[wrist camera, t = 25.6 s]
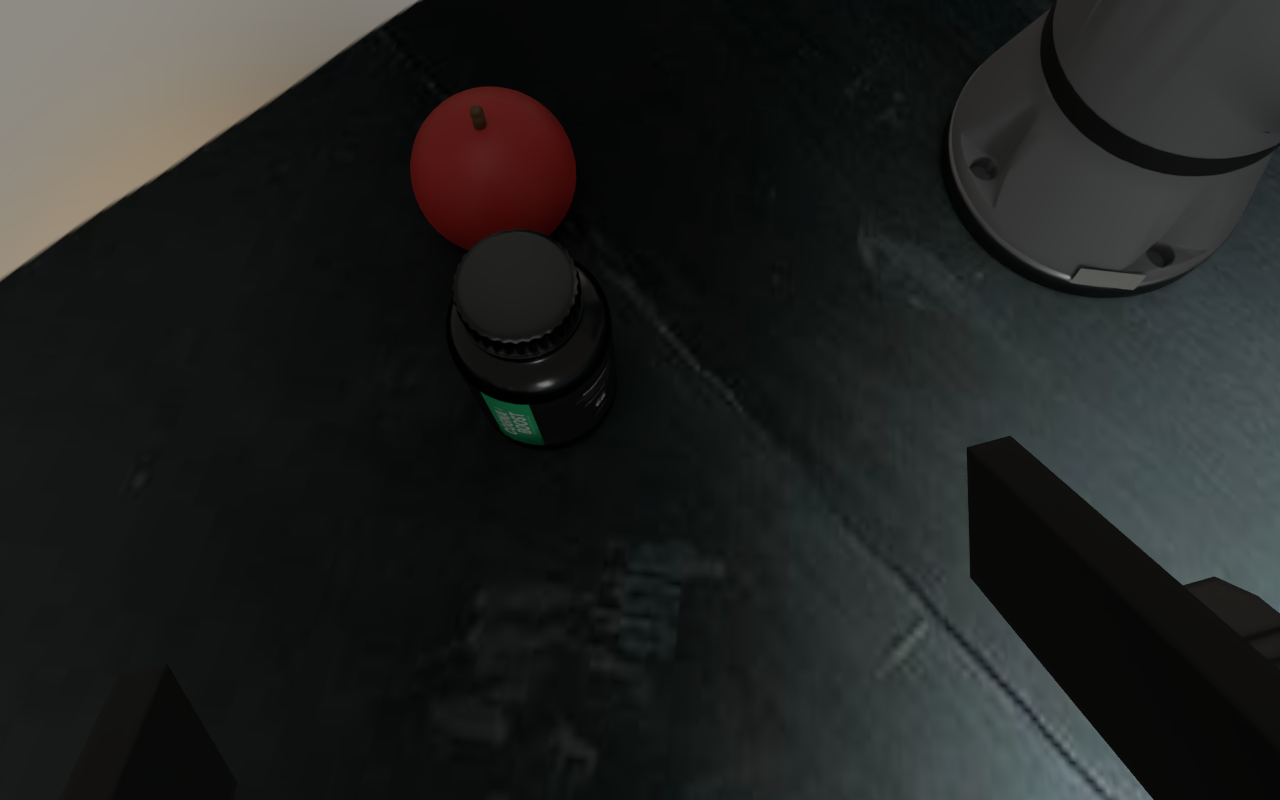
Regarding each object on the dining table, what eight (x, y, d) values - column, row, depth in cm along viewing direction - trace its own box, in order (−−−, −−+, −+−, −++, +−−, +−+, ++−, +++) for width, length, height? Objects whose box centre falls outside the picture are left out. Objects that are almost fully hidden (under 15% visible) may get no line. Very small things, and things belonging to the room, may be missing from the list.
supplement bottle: (541, 482, 44) (503, 407, 32) (452, 383, 45) (386, 279, 34) (646, 391, 45) (645, 289, 34) (556, 298, 47) (526, 171, 35)
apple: (486, 125, 50) (451, 4, 41) (609, 190, 49) (601, 80, 40) (401, 237, 48) (346, 135, 39) (528, 308, 47) (500, 220, 38)
